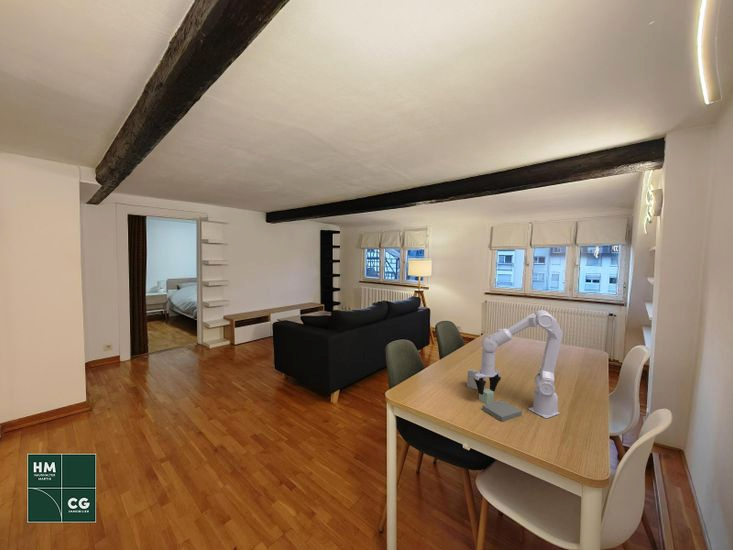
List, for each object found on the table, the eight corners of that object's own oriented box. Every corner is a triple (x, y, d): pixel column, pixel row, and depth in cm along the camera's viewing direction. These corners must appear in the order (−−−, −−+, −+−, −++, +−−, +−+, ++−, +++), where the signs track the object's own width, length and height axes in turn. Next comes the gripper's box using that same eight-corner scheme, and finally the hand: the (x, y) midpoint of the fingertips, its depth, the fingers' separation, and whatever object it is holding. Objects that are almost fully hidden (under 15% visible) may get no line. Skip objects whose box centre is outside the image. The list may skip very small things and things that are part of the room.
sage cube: (485, 398, 135) (486, 387, 135) (493, 402, 131) (494, 391, 131) (478, 399, 134) (479, 389, 133) (486, 404, 129) (487, 393, 129)
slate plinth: (501, 404, 130) (501, 400, 130) (521, 415, 121) (521, 410, 121) (482, 409, 125) (482, 405, 124) (501, 421, 116) (502, 417, 115)
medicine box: (484, 388, 146) (485, 371, 145) (483, 391, 142) (484, 374, 141) (468, 384, 150) (469, 368, 149) (466, 387, 146) (467, 371, 145)
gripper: (492, 358, 138) (490, 385, 139) (469, 362, 132) (468, 391, 133) (504, 363, 132) (503, 392, 133) (481, 368, 126) (480, 398, 126)
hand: (486, 392), depth 132 cm, fingers open, 7 cm apart
